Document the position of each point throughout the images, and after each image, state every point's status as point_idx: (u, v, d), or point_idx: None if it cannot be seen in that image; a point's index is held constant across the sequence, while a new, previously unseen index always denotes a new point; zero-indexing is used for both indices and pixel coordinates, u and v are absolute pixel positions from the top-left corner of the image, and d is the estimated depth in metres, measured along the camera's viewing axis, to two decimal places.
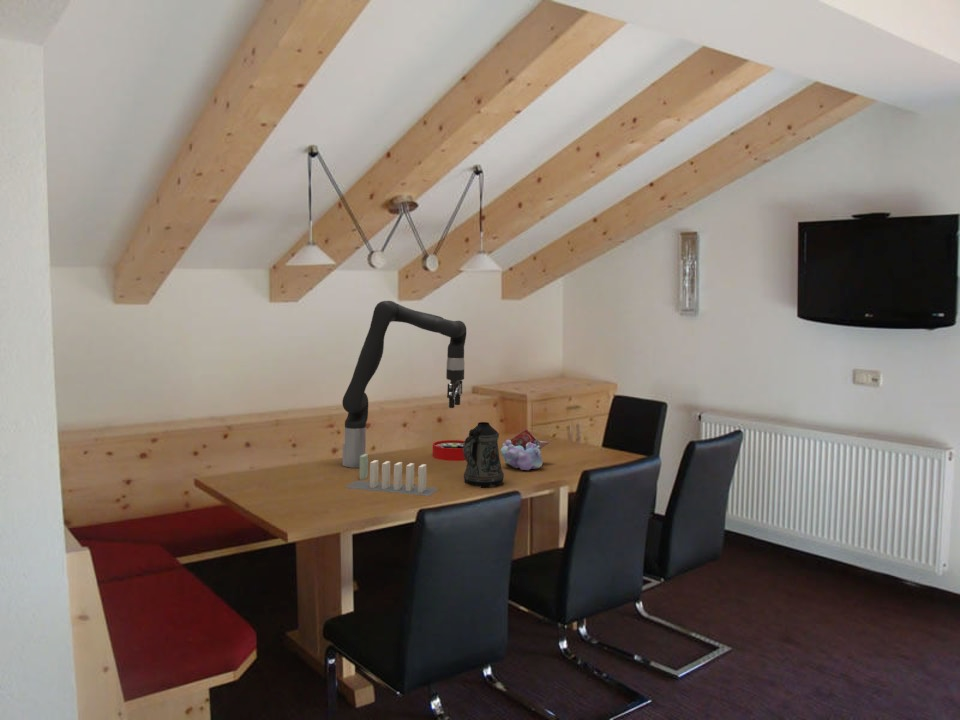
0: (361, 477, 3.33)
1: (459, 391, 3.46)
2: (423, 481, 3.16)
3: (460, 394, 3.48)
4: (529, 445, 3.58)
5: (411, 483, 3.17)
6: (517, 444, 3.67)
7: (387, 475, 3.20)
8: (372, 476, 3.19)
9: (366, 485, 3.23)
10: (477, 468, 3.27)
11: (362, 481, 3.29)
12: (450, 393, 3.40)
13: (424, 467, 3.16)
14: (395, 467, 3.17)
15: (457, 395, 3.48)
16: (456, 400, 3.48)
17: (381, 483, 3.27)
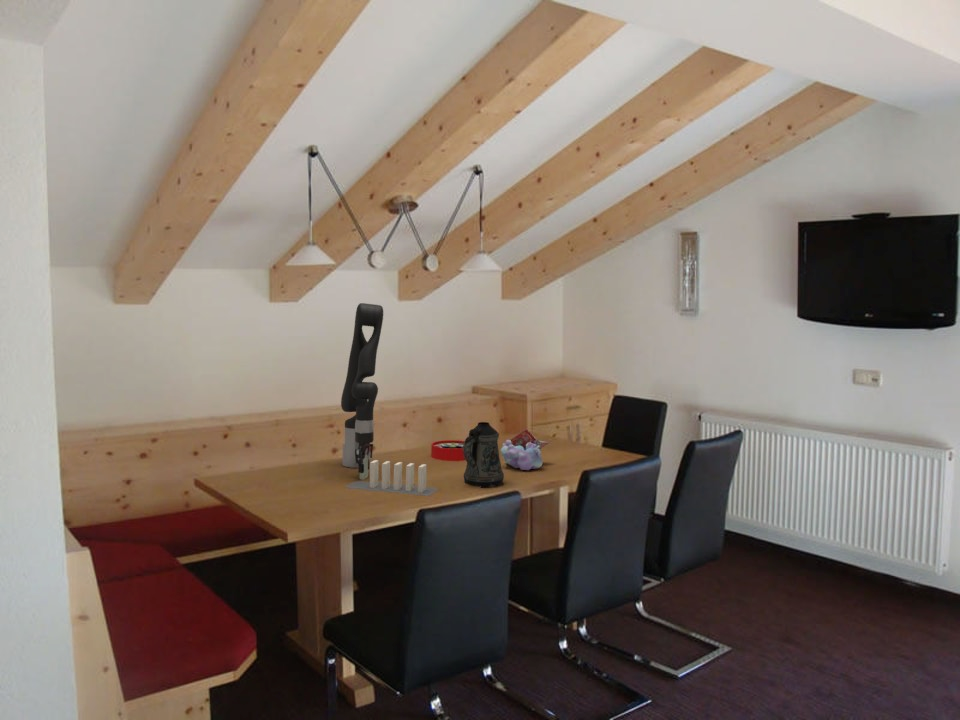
0: (361, 477, 3.33)
1: (368, 454, 3.36)
2: (423, 481, 3.16)
3: (369, 458, 3.37)
4: (529, 445, 3.58)
5: (411, 483, 3.17)
6: (517, 444, 3.67)
7: (387, 475, 3.20)
8: (372, 476, 3.19)
9: (366, 485, 3.23)
10: (477, 468, 3.27)
11: (362, 481, 3.29)
12: (359, 458, 3.31)
13: (424, 467, 3.16)
14: (395, 467, 3.17)
15: None
16: None
17: (381, 483, 3.27)
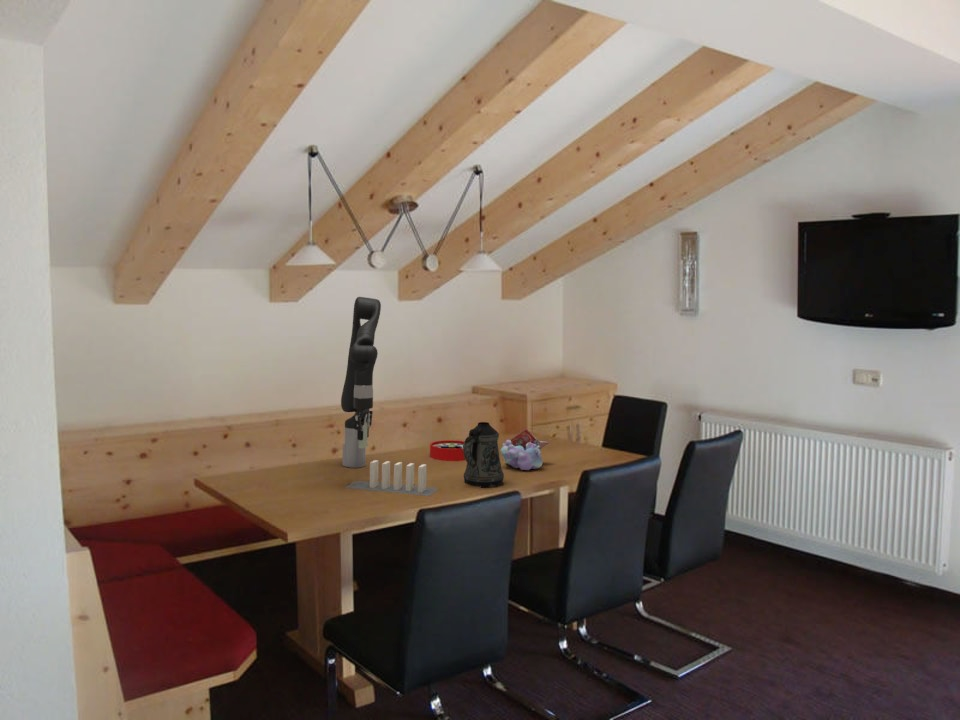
0: (360, 445, 3.20)
1: (367, 421, 3.23)
2: (423, 481, 3.16)
3: (368, 426, 3.24)
4: (529, 445, 3.58)
5: (411, 483, 3.17)
6: (517, 444, 3.67)
7: (387, 475, 3.20)
8: (372, 476, 3.19)
9: (366, 485, 3.23)
10: (477, 468, 3.27)
11: (362, 481, 3.29)
12: (358, 424, 3.18)
13: (424, 467, 3.16)
14: (395, 467, 3.17)
15: None
16: None
17: (381, 483, 3.27)
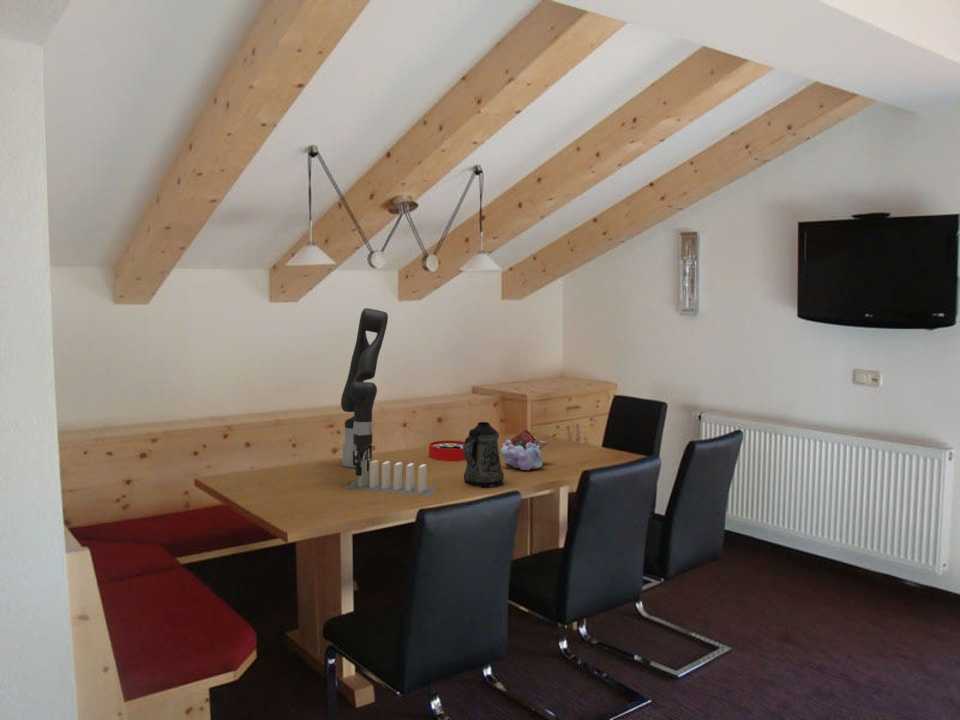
0: (360, 483, 3.21)
1: (367, 456, 3.25)
2: (423, 481, 3.16)
3: (369, 460, 3.26)
4: (529, 445, 3.58)
5: (411, 483, 3.17)
6: (517, 444, 3.67)
7: (387, 475, 3.20)
8: (372, 476, 3.19)
9: (366, 485, 3.23)
10: (477, 468, 3.27)
11: None
12: (357, 460, 3.19)
13: (424, 467, 3.16)
14: (395, 467, 3.17)
15: None
16: None
17: (381, 483, 3.27)
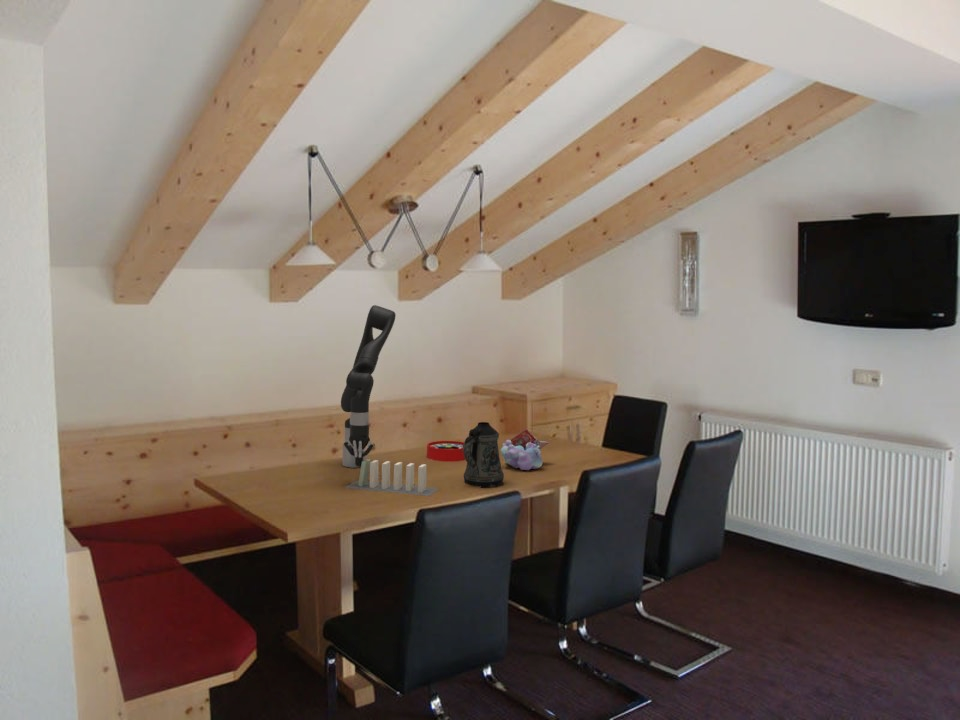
0: (360, 483, 3.21)
1: (359, 449, 3.21)
2: (423, 481, 3.16)
3: (359, 455, 3.21)
4: (529, 445, 3.58)
5: (411, 483, 3.17)
6: (517, 444, 3.67)
7: (387, 475, 3.20)
8: (372, 476, 3.19)
9: (366, 485, 3.23)
10: (477, 468, 3.27)
11: None
12: None
13: (424, 467, 3.16)
14: (395, 467, 3.17)
15: None
16: None
17: (381, 483, 3.27)
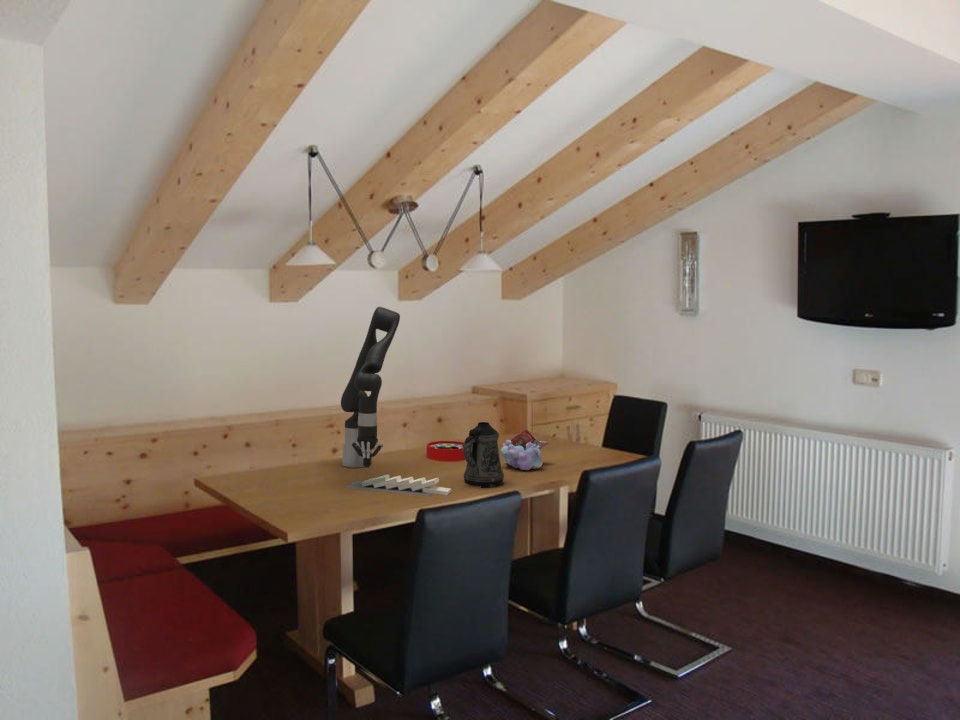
0: (365, 484, 3.21)
1: (367, 450, 3.20)
2: None
3: (367, 456, 3.21)
4: (529, 445, 3.58)
5: None
6: (517, 444, 3.67)
7: None
8: (384, 484, 3.18)
9: None
10: (477, 468, 3.27)
11: (362, 481, 3.29)
12: None
13: None
14: (419, 482, 3.15)
15: None
16: None
17: None
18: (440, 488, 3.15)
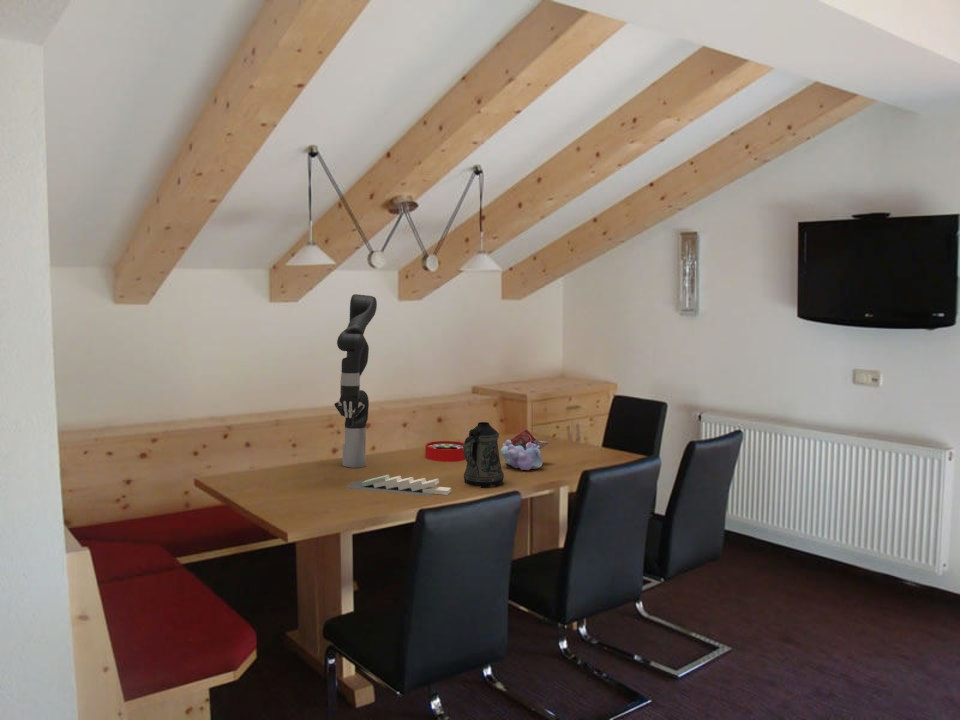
0: (365, 484, 3.21)
1: (349, 410, 3.23)
2: None
3: (349, 415, 3.23)
4: (529, 445, 3.58)
5: None
6: (517, 444, 3.67)
7: None
8: (384, 484, 3.18)
9: None
10: (477, 468, 3.27)
11: (362, 481, 3.29)
12: None
13: None
14: (419, 482, 3.15)
15: None
16: None
17: None
18: (440, 488, 3.15)
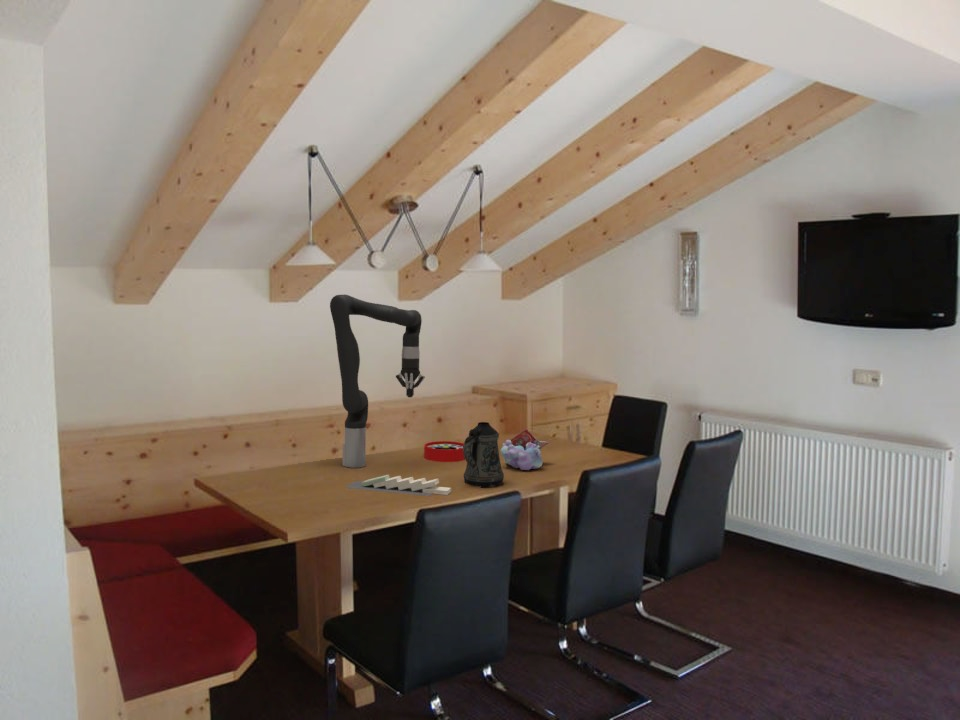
0: (365, 484, 3.21)
1: (410, 381, 3.47)
2: None
3: (410, 386, 3.48)
4: (529, 445, 3.58)
5: None
6: (517, 444, 3.67)
7: None
8: (384, 484, 3.18)
9: None
10: (477, 468, 3.27)
11: (362, 481, 3.29)
12: None
13: None
14: (419, 482, 3.15)
15: None
16: None
17: None
18: (440, 488, 3.15)
